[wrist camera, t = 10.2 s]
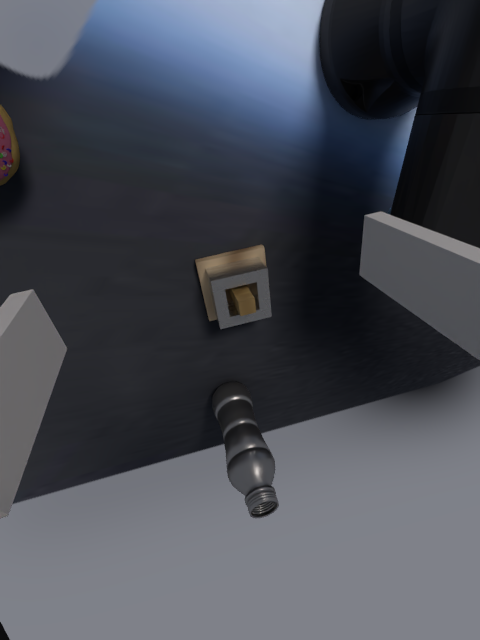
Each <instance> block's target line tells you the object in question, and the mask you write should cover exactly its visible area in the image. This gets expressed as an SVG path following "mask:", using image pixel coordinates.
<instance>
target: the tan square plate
mask: <svg viewBox="0 0 480 640" xmlns="http://www.w3.org/2000/svg"><path fill="white" fill-rule="evenodd" d="M253 257H259V259H260V260H261V261H262V262H263V263H264V265H265V266H266V260H265V250H264V246H263V245H258V246H254V247H249V248H245V249H240V250H236V251H231V252H227V253H223V254H218V255H214V256H209V257H205V258H201V259H196V260H195V262H196V266H197V271H198V275H199V279H200V284H201V288H202V292H203V297H204V301H205V305H206V310H207V314H208V318H209V321H213V320H217V319H216V316H215V312H214V308H213V303H212V298H211V293H210V288H209V283H208V279H207V274H206V269H205V268H209V267H213V266H218V265H222V264H227V263H231V262H236V261H240V260H245V259H249V258H253ZM225 292H226V298H227V301H231V300H233V302H234V304H235V306H236V308H237V310H238V312H239V314H240V316H244V315H248V314H252V313H256V306H255V298H254V296H253V295H252V293H251V290H250V284H247V285H242V286H238V287H234V288H230V289H225Z"/></svg>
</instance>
